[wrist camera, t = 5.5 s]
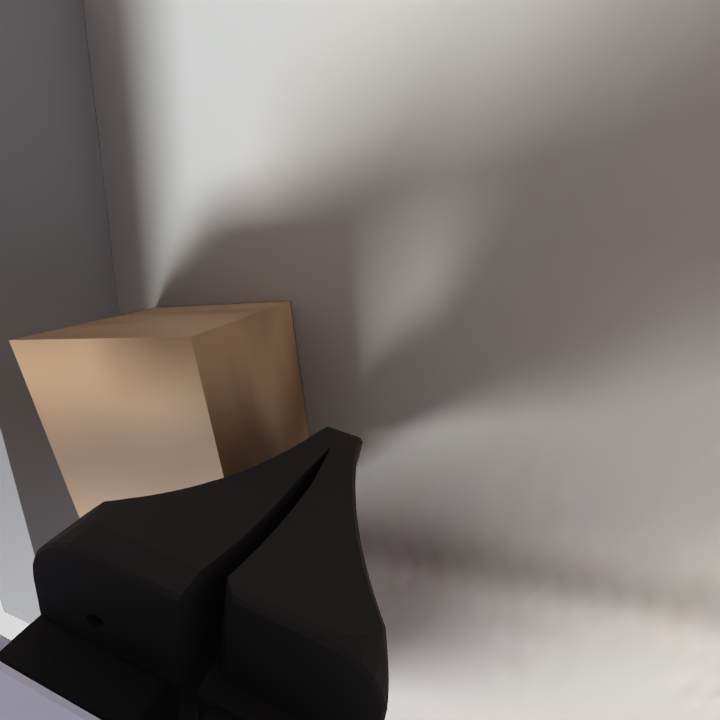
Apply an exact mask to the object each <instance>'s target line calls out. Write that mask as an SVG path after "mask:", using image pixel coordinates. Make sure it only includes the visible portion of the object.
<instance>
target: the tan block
mask: <svg viewBox="0 0 720 720" xmlns="http://www.w3.org/2000/svg"><path fill="white" fill-rule="evenodd" d="M9 342H10V344H11V347H12V349H13V352H14V354H15V357H16V359H17V362H18V364H19V367H20V369H21V372H22V374H23V377H24V379H25V382H26V385H27V387H28V390H29V392H30V395H31V397H32V400H33V402H34V405H35V407H36V410H37V412H38V415H39V417H40V420H41V422H42V425H43V427H44V430H45V432H46V435H47V437H48V440H49V442H50V445H51V447H52V450H53V452H54V455H55V458H56V460H57V463H58V465H59V468H60V470H61V473H62V475H63V478H64V480H65V483H66V485H67V488H68V490H69V493H70V495H71V498H72V500H73V503H74V505H75V508H76V510H77V513H78V515H79V518H81V517H82V516H83V515H85V514H86V513H88V512H89V511H91V510H92V509H93V508H95V507H96V506H98V505H99V504H101V503H102V502H104V501H113V500H121V499H128V498H135V497H142V496H149V495H155V494H161V493H166V492H171V491H176V490H180V489H184V488H189V487H193V486H197V485H201V484H204V483H207V482H211V481H214V480H218V479H221V478H224V477H228V476H231V475H233V474H236V473H239V472H242V471H244V470H247V469H249V468H252V467H254V466H256V465H259V464H261V463H263V462H265V461H267V460H269V459H271V458H273V457H275V456H277V455H279V454H281V453H283V452H285V451H287V450H289V449H290V448H292V447H294V446H296V445H298V444H299V443H301V442H303V441H304V440H306V439H308V438H309V430H308V423H307V416H306V409H305V402H304V395H303V388H302V382H301V375H300V368H299V361H298V354H297V347H296V340H295V333H294V326H293V319H292V312H291V306H290V301H280V302H259V303H239V304H218V305H197V306H177V307H156V308H151V309H146V310H142V311H137V312H133V313H128V314H124V315H119V316H115V317H110V318H106V319H101V320H97V321H92V322H88V323H83V324H79V325H74V326H70V327H65V328H61V329H57V330H52V331H48V332H43V333H39V334H34V335H30V336H25V337H21V338H16V339H12V340H9Z"/></svg>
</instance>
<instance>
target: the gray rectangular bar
mask: <svg viewBox="0 0 720 720" xmlns="http://www.w3.org/2000/svg"><path fill="white" fill-rule="evenodd" d="M115 316H119V311H118V303H117V294H116V285H115V277H114V268H113V259H112V251H111V242H110V233H109V225H108V216H107V207H106V199H105V190H104V181H103V172H102V164H101V155H100V146H99V138H98V129H97V120H96V112H95V103H94V94H93V86H92V77H91V68H90V60H89V51H88V42H87V34H86V25H85V16H84V8H83V0H0V600H1V603H2V606H3V609H4V612H6V613H8V614H11V615H13V616H15V617H17V618H19V619H21V620H23V621H25V622H27V623H29V624H31V623H32V622H33V621H34V620H35V619H37V618H38V617H39V616H40V615H41V613H40V608H39V603H38V598H37V593H36V588H35V582H34V577H33V561H34V558H35V555H36V552H37V550H38V549H40V548H41V547H42V546H43V545H44V544H45V543H47V542H48V541H50V540H51V539H52V538H54V537H55V536H56V535H58V534H59V533H60V532H62V531H63V530H64V529H66V528H67V527H69V526H70V525H71V524H73V523H74V522H75V521H77V520H78V519H79V515H78V513H77V510H76V508H75V505H74V503H73V500H72V498H71V495H70V493H69V490H68V488H67V485H66V483H65V480H64V478H63V475H62V473H61V470H60V468H59V465H58V463H57V460H56V458H55V455H54V452H53V450H52V447H51V445H50V442H49V440H48V437H47V435H46V432H45V430H44V427H43V425H42V422H41V420H40V417H39V415H38V412H37V410H36V407H35V405H34V402H33V400H32V397H31V395H30V392H29V390H28V387H27V385H26V382H25V379H24V377H23V374H22V372H21V369H20V367H19V364H18V362H17V359H16V357H15V354H14V352H13V349H12V347H11V344H10V342H9V340H12V339H16V338H21V337H25V336H30V335H34V334H39V333H43V332H48V331H52V330H57V329H61V328H65V327H70V326H74V325H79V324H83V323H88V322H92V321H97V320H101V319H106V318H110V317H115Z"/></svg>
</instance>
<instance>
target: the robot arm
mask: <svg viewBox="0 0 720 720" xmlns="http://www.w3.org/2000/svg"><path fill="white" fill-rule="evenodd" d="M362 443H363V442H362V440H361V439H360V438H358V437H356V436H353V435H350V434H347V433H344V432H341V431H339V430H336V429H333V428H330V427H326V428H324V429H322V430H321V431H319V432H318V433H316V434H314V435H313V436H311V437H309V438H308V439H306V440H304V441H303V442H301V443H299V444H298V445H296V446H294V447H292V448H290V449H289V450H287V451H285V452H283V453H281V454H279V455H277V456H275V457H273V458H271V459H269V460H267V461H265V462H263V463H261V464H259V465H256V466H254V467H252V468H249V469H247V470H244V471H242V472H239V473H236V474H233V475H231V476H228V477H224V478H221V479H218V480H214V481H211V482H207V483H204V484H201V485H197V486H193V487H189V488H184V489H180V490H176V491H171V492H166V493H161V494H155V495H149V496H142V497H135V498H128V499H121V500H113V501H104V502H102V503H101V504H99V505H98V506H96V507H95V508H93V509H92V510H91V511H89V512H88V513H86V514H85V515H83V516H82V517H81V518H79V519H78V520H77V521H75V522H74V523H73V524H71V525H70V526H69V527H67V528H66V529H64V530H63V531H62V532H60V533H59V534H58V535H56V536H55V537H54V538H52V539H51V540H50V541H48V542H47V543H45V544H44V545H43V546H42V547H41V548H40V549H38V550H37V552H36V555H35V558H34V561H33V577H34V582H35V588H36V593H37V598H38V603H39V608H40V613H41V615H40V616H39V617H38V618H37V619H35V620H34V621H33V622H32V623H31V624H30V625H29V626H28V627H26V628H25V629H24V630H23V631H22V632H21V633H20V634H19V635H17V636H16V637H15V638H14V639H13V640H12V641H11V640H9V639H7V638H5V637H3V636H2V635H0V720H384V719H385V715H386V711H387V703H388V683H389V678H388V654H387V642H386V629H385V625H384V622H383V619H382V616H381V614H380V611H379V608H378V605H377V602H376V599H375V596H374V593H373V590H372V586H371V583H370V579H369V576H368V572H367V568H366V564H365V559H364V555H363V551H362V546H361V541H360V535H359V529H358V521H357V513H356V498H355V476H356V465H357V462H358V458H359V454H360V450H361V446H362Z"/></svg>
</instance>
